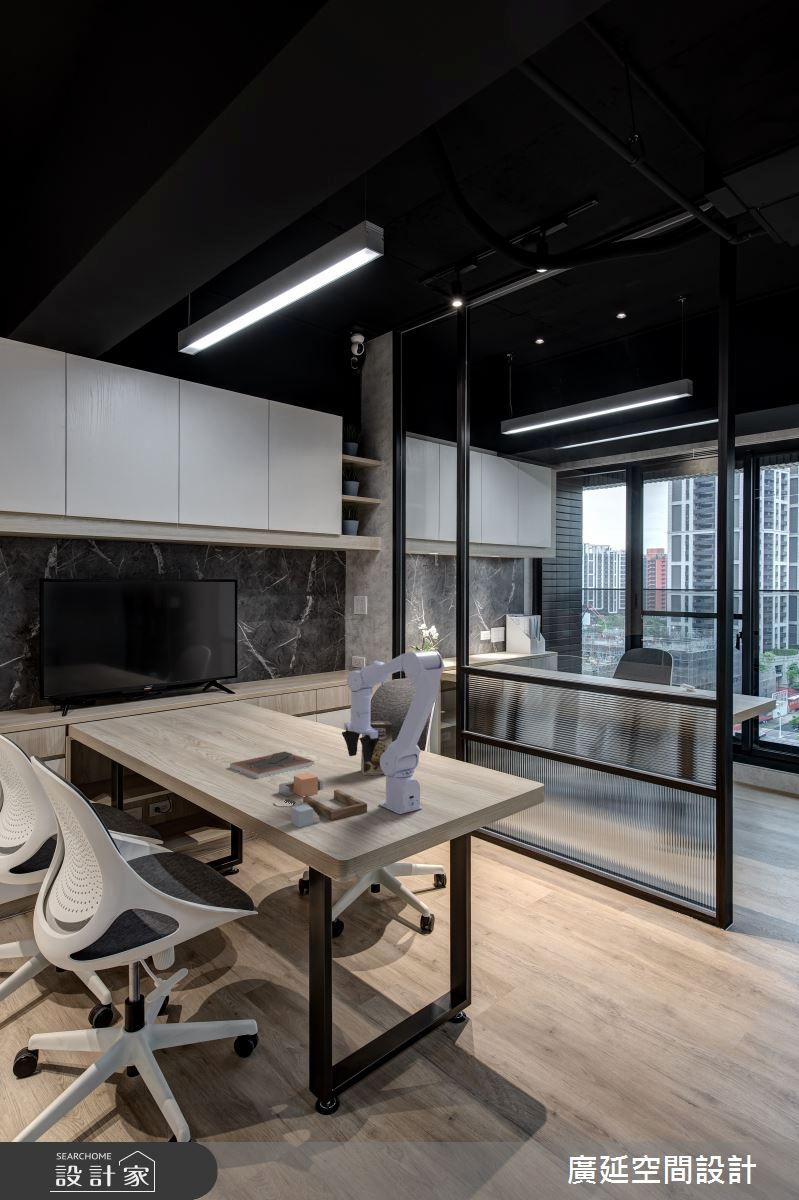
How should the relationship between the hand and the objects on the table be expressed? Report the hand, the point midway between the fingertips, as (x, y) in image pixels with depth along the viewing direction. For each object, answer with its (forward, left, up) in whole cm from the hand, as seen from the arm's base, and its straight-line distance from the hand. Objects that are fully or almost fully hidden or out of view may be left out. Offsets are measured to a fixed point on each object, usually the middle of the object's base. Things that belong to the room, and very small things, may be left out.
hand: (360, 758), depth 189 cm
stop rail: (+11, +13, -10) cm, 20 cm away
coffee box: (+14, -16, -10) cm, 24 cm away
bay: (-7, +13, -10) cm, 18 cm away
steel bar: (-8, +21, -10) cm, 25 cm away
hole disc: (+4, +22, -10) cm, 24 cm away
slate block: (-12, +26, -10) cm, 30 cm away
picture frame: (+38, +8, -11) cm, 41 cm away
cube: (+8, +13, -10) cm, 18 cm away
